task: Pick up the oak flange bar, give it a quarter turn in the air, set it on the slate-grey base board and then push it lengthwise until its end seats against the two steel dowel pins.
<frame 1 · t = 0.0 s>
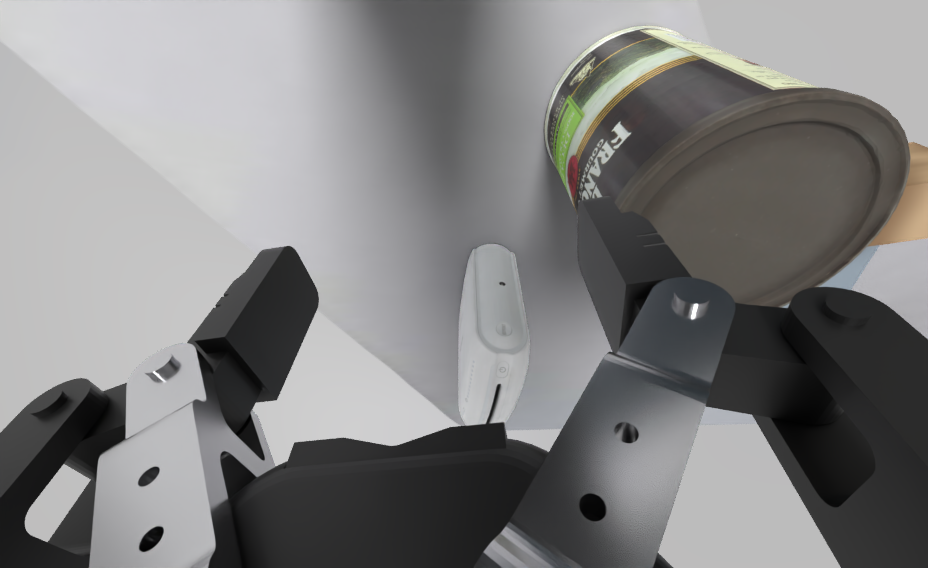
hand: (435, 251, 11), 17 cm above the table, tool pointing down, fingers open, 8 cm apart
base board: (744, 308, 37), on the table
photo printer: (484, 286, 35), on the table
coffee can: (622, 118, 25), on the table
flange bar: (821, 184, 28), on the table
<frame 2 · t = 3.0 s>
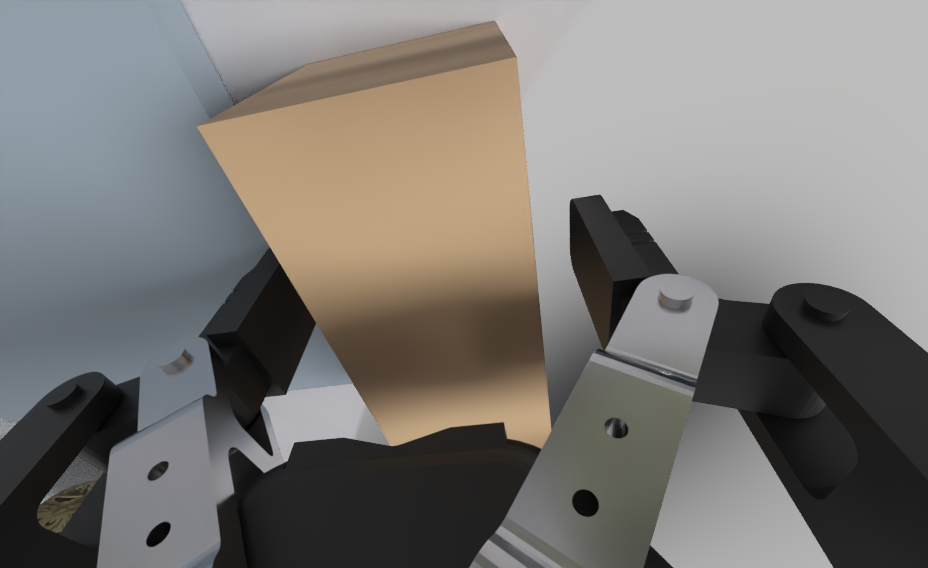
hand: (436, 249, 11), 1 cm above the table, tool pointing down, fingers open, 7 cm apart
base board: (43, 233, 12), on the table
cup: (152, 460, 22), on the table
flange bar: (445, 225, 12), on the table
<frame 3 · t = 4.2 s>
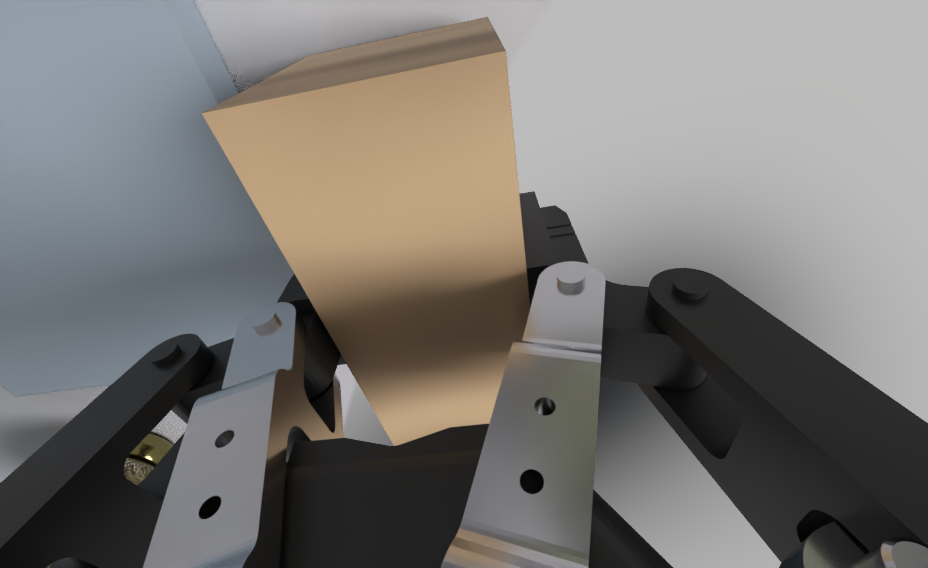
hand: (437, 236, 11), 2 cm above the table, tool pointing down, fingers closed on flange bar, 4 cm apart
base board: (58, 211, 13), on the table
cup: (150, 439, 23), on the table
flange bar: (439, 216, 12), point 1 cm above the table, touching gripper
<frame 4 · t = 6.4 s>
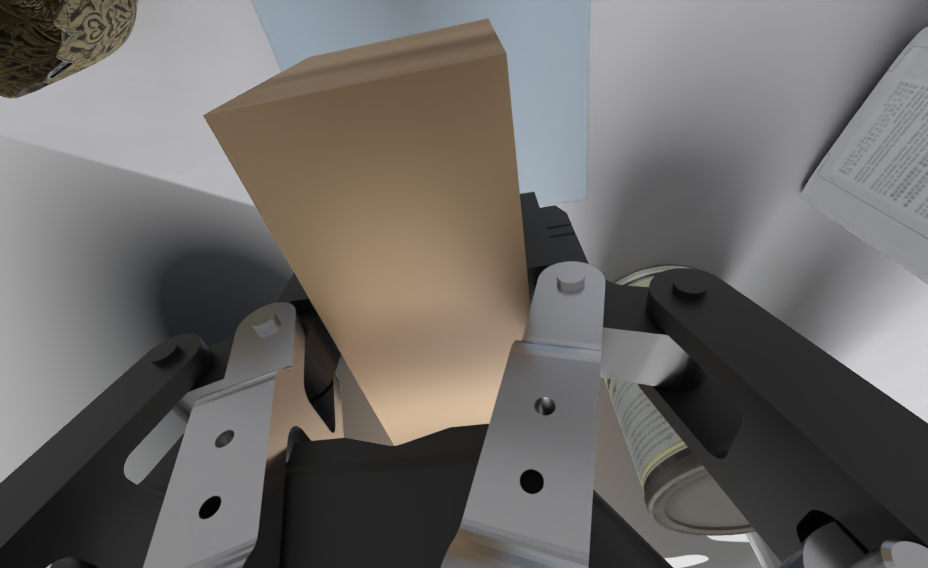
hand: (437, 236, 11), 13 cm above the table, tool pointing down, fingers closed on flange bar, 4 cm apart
base board: (438, 75, 20), on the table
photo printer: (872, 124, 22), on the table
coffee can: (648, 313, 31), on the table
flange bar: (440, 217, 12), point 12 cm above the table, touching gripper
when the fingers open (3 cm above the table, at t = 8.4 s): flange bar stays where it is, resting on base board.
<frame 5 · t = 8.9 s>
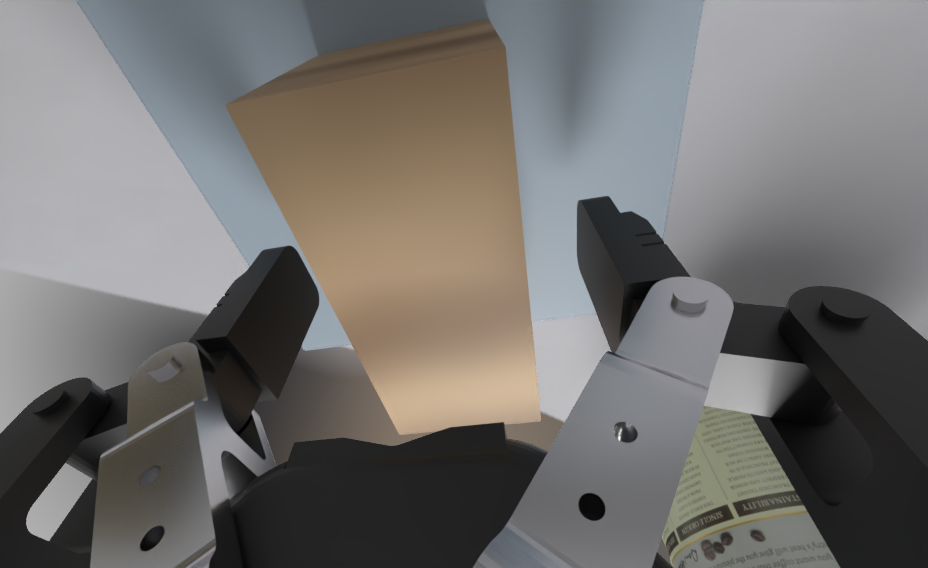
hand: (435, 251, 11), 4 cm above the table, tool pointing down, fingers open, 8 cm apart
base board: (427, 131, 12), on the table
coffee can: (711, 422, 23), on the table
flange bar: (442, 211, 13), point 1 cm above the table, touching base board
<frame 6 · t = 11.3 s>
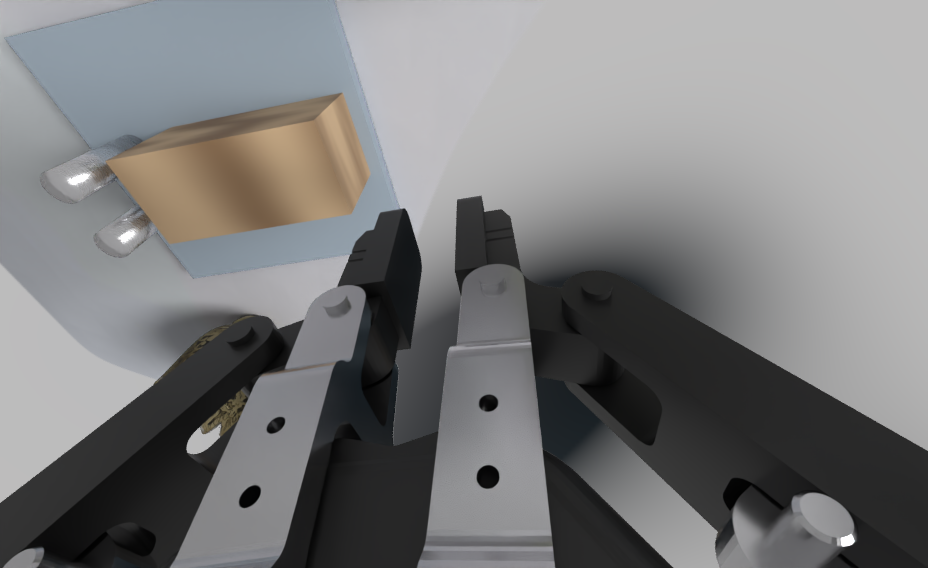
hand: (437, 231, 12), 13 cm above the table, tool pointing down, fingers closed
base board: (248, 151, 23), on the table
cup: (259, 325, 33), on the table
dowel pins: (166, 167, 24), resting on base board
flange bar: (274, 151, 22), point 1 cm above the table, touching base board
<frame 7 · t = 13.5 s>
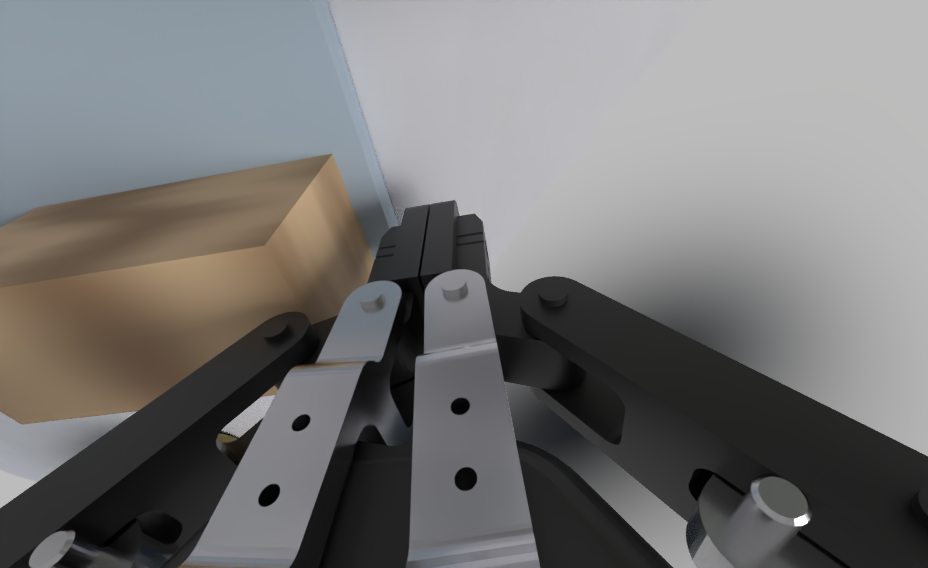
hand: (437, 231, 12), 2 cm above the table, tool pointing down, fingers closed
base board: (185, 235, 14), on the table
flange bar: (219, 242, 13), point 1 cm above the table, touching base board, gripper
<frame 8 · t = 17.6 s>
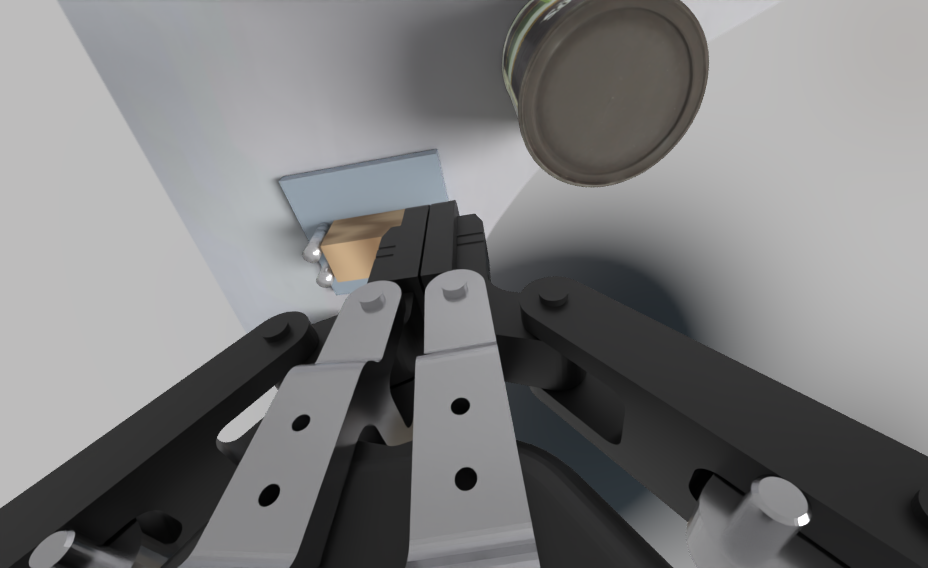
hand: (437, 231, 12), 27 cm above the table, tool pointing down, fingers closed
base board: (381, 228, 43), on the table
dowel pins: (334, 235, 43), resting on base board
coffee can: (560, 59, 33), on the table
flange bar: (385, 231, 41), point 1 cm above the table, touching base board
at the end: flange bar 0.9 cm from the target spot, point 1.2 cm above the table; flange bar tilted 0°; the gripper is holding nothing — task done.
